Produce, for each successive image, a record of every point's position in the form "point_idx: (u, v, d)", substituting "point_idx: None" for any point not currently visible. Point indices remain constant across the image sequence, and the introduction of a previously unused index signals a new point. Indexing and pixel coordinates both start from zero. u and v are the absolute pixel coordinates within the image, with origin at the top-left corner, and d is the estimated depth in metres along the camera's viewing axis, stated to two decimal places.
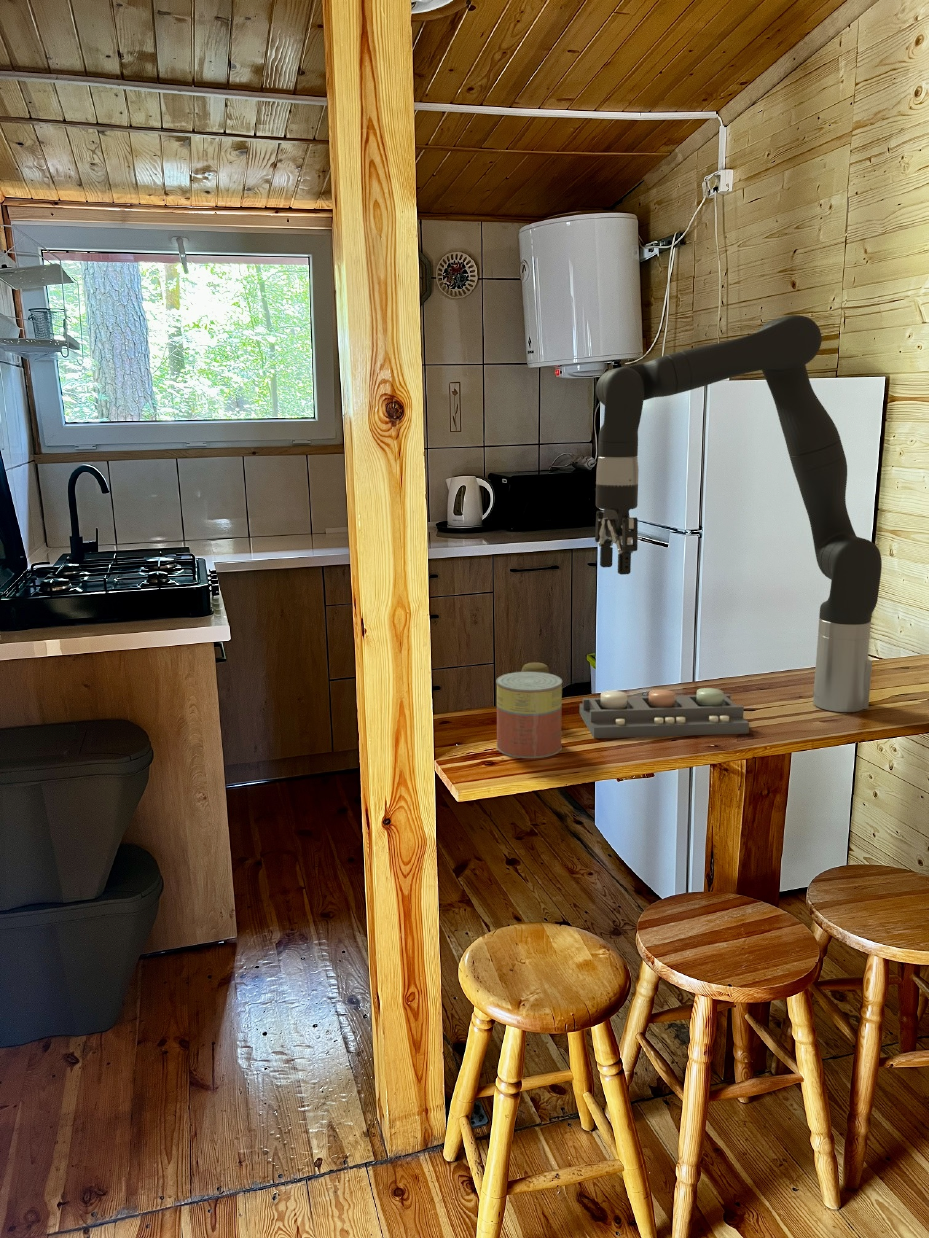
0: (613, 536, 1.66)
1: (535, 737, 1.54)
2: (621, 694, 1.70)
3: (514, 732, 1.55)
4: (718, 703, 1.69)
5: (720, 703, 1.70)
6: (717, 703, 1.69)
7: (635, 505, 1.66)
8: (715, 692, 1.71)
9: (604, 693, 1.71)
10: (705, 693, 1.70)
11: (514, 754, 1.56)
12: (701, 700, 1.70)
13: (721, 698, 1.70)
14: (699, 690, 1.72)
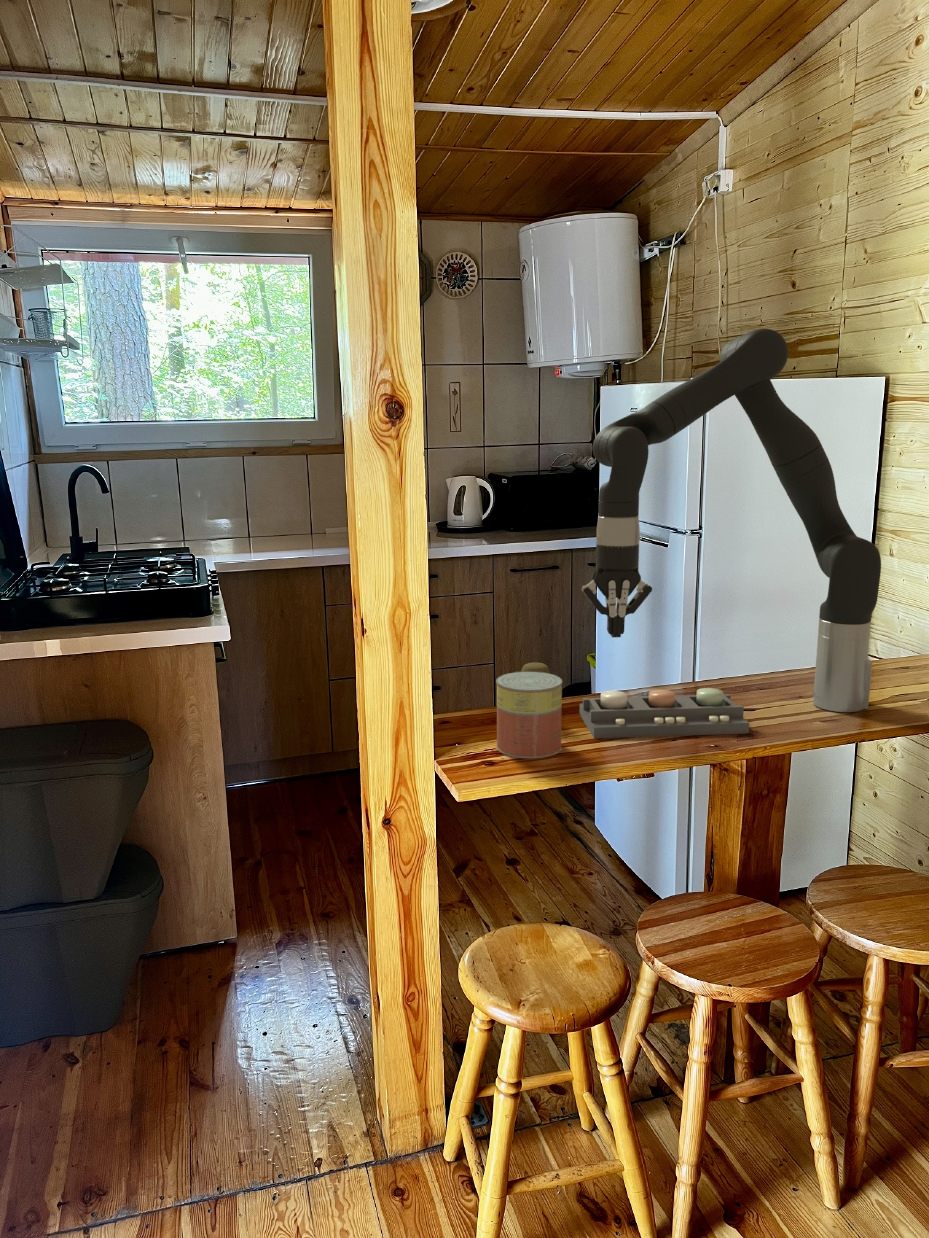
0: (624, 598, 1.64)
1: (535, 737, 1.54)
2: (621, 694, 1.70)
3: (514, 732, 1.55)
4: (718, 703, 1.69)
5: (720, 703, 1.70)
6: (717, 703, 1.69)
7: None
8: (715, 692, 1.71)
9: (604, 693, 1.71)
10: (705, 693, 1.70)
11: (514, 754, 1.56)
12: (701, 700, 1.70)
13: (721, 698, 1.70)
14: (699, 690, 1.72)
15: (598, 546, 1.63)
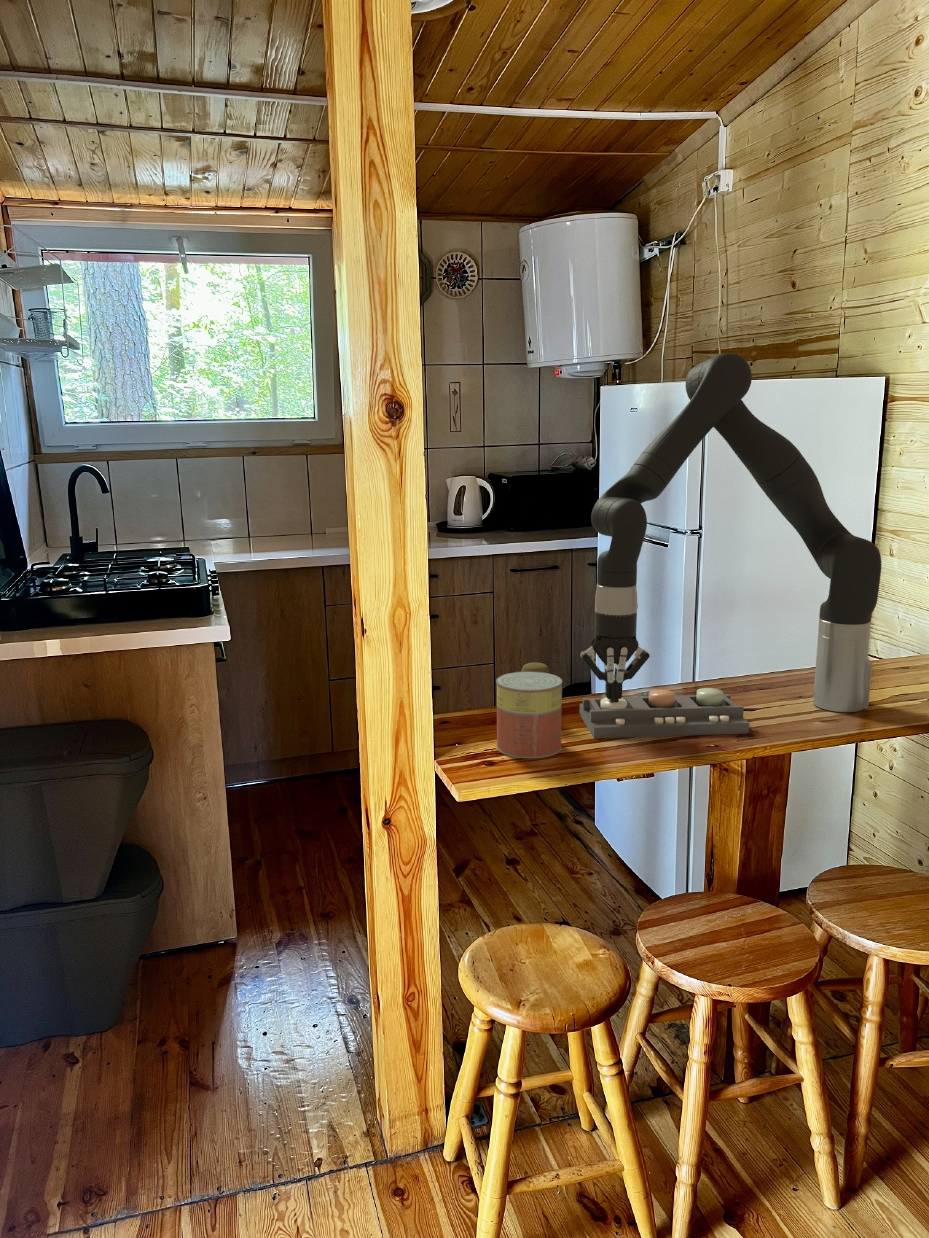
0: (622, 665, 1.67)
1: (535, 737, 1.54)
2: (621, 701, 1.70)
3: (514, 732, 1.55)
4: (718, 703, 1.69)
5: (720, 703, 1.70)
6: (717, 703, 1.69)
7: None
8: (715, 692, 1.71)
9: (604, 699, 1.71)
10: (705, 693, 1.70)
11: (514, 754, 1.56)
12: (701, 700, 1.70)
13: (721, 698, 1.70)
14: (699, 690, 1.72)
15: (596, 614, 1.66)
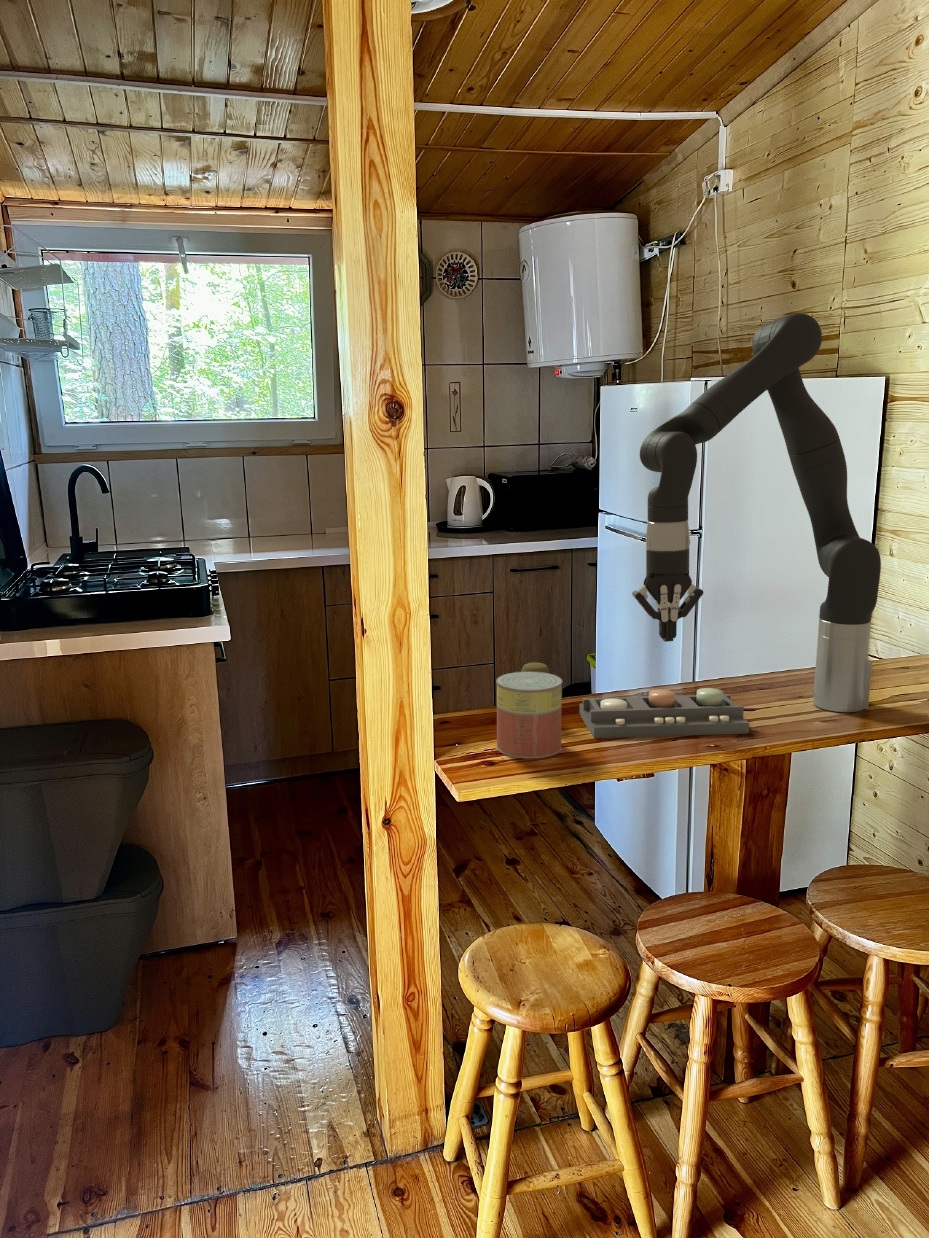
0: (676, 603, 1.65)
1: (535, 737, 1.54)
2: (621, 702, 1.70)
3: (514, 732, 1.55)
4: (718, 703, 1.69)
5: (720, 703, 1.70)
6: (717, 703, 1.69)
7: None
8: (715, 692, 1.71)
9: (604, 701, 1.71)
10: (705, 693, 1.70)
11: (514, 754, 1.56)
12: (701, 700, 1.70)
13: (721, 698, 1.70)
14: (699, 690, 1.72)
15: (649, 551, 1.64)
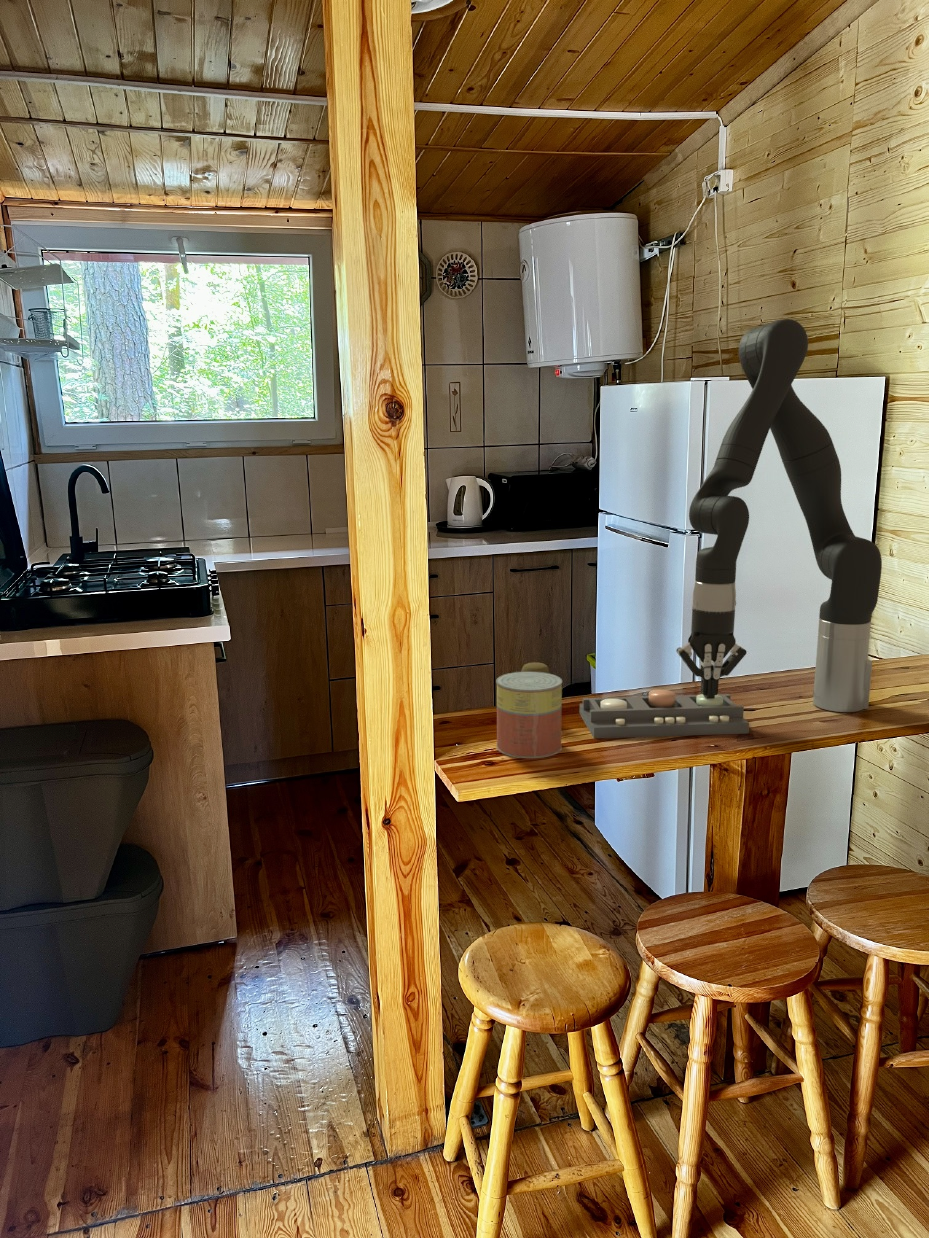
0: (719, 661, 1.68)
1: (535, 737, 1.54)
2: (621, 702, 1.70)
3: (514, 732, 1.55)
4: None
5: None
6: None
7: None
8: (715, 698, 1.71)
9: (604, 701, 1.71)
10: (705, 699, 1.70)
11: (514, 754, 1.56)
12: (701, 705, 1.70)
13: (721, 704, 1.70)
14: (699, 696, 1.72)
15: (695, 610, 1.67)
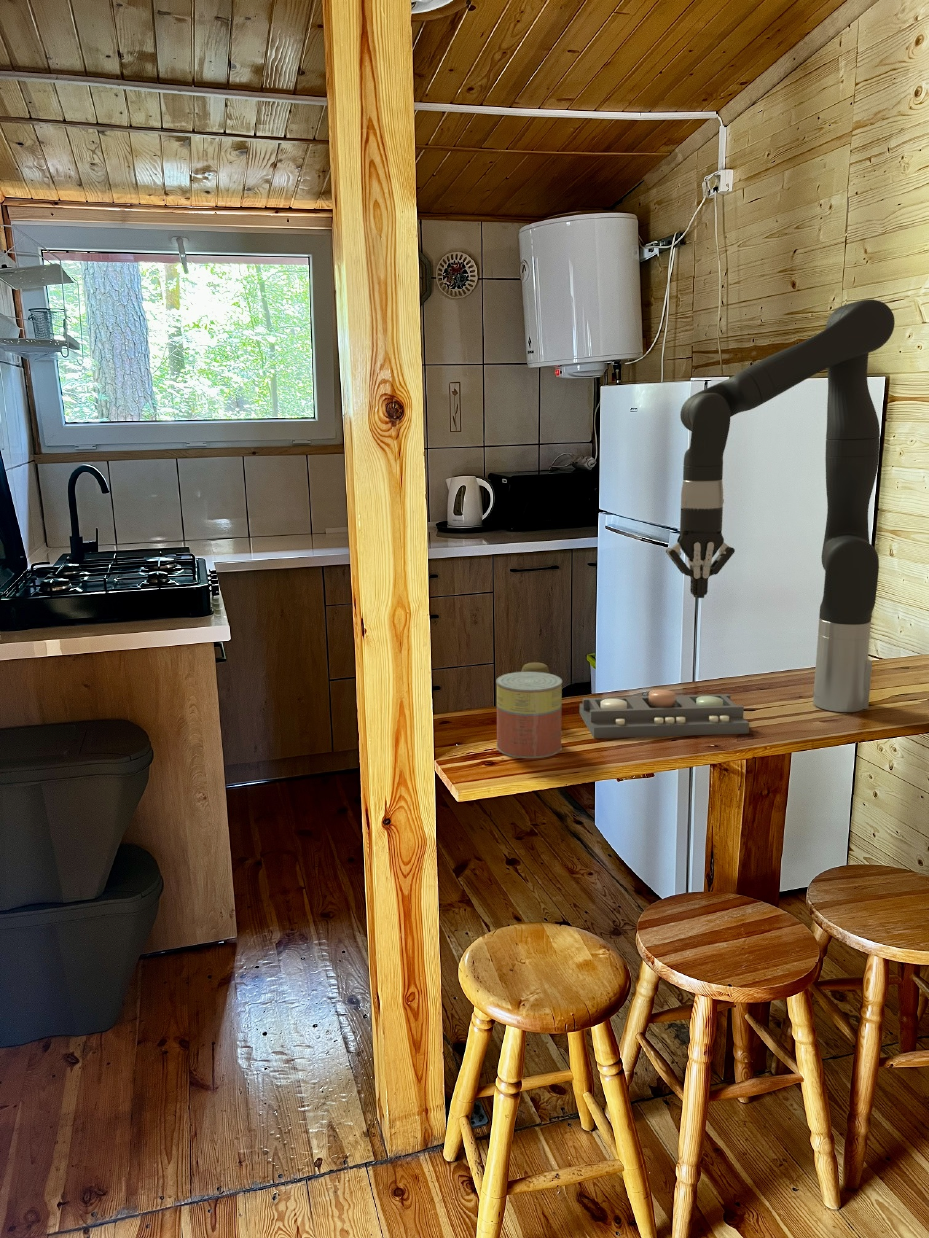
0: (708, 560, 1.71)
1: (535, 737, 1.54)
2: (621, 702, 1.70)
3: (514, 732, 1.55)
4: None
5: None
6: None
7: None
8: (715, 700, 1.71)
9: (604, 701, 1.71)
10: (705, 701, 1.70)
11: (514, 754, 1.56)
12: None
13: None
14: (699, 698, 1.72)
15: (683, 509, 1.69)
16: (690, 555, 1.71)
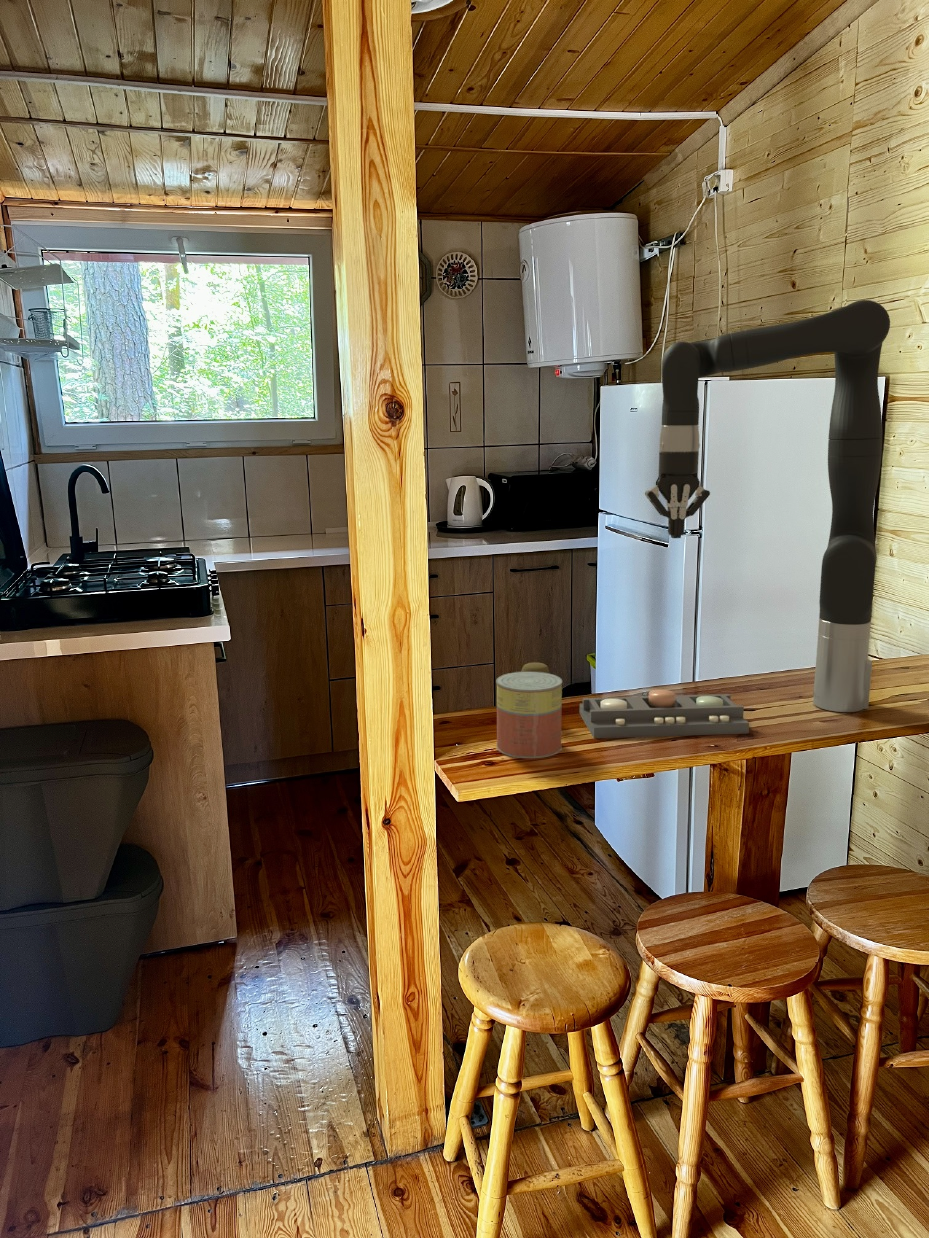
0: (685, 501, 1.81)
1: (535, 737, 1.54)
2: (621, 702, 1.70)
3: (514, 732, 1.55)
4: None
5: None
6: None
7: None
8: (715, 700, 1.71)
9: (604, 701, 1.71)
10: (705, 701, 1.70)
11: (514, 754, 1.56)
12: None
13: None
14: (699, 698, 1.72)
15: (661, 453, 1.79)
16: (667, 497, 1.81)
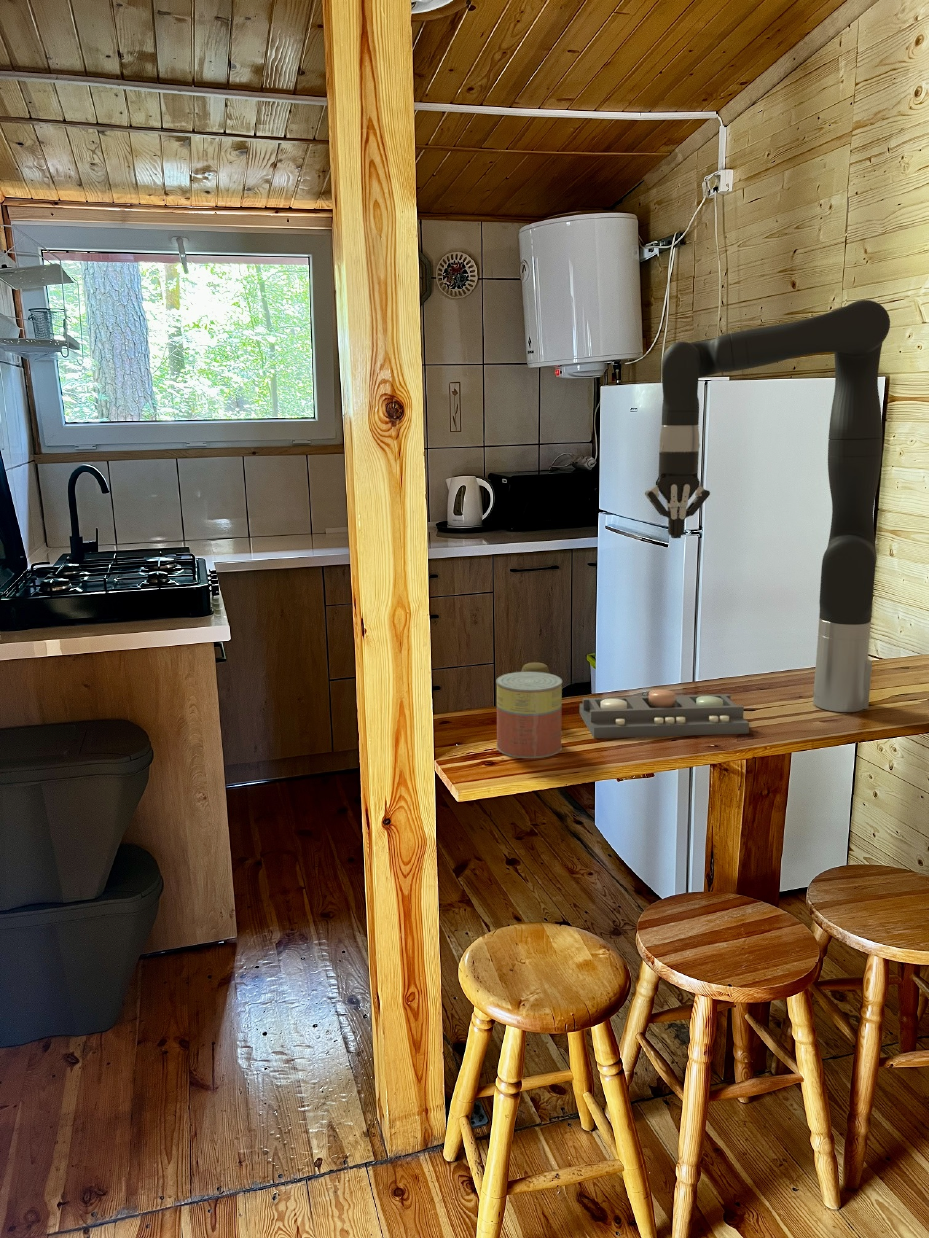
0: (685, 501, 1.81)
1: (535, 737, 1.54)
2: (621, 702, 1.70)
3: (514, 732, 1.55)
4: None
5: None
6: None
7: None
8: (715, 700, 1.71)
9: (604, 701, 1.71)
10: (705, 701, 1.70)
11: (514, 754, 1.56)
12: None
13: None
14: (699, 698, 1.72)
15: (661, 453, 1.79)
16: (667, 497, 1.81)
